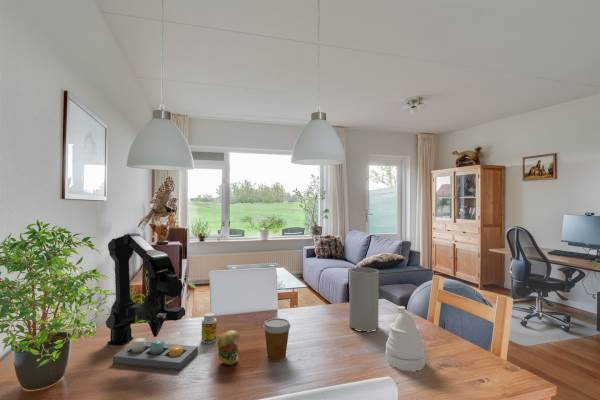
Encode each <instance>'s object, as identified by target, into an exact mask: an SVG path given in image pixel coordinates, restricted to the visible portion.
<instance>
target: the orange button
mask: <svg viewBox="0 0 600 400" xmlns="http://www.w3.org/2000/svg"><path fill="white" fill-rule="evenodd" d="M182 354H183V347H182V346H173V347H170V348H169V356H170V357H180V356H181V355H182Z"/></svg>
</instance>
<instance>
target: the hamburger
mask: <svg viewBox="0 0 600 400" xmlns="http://www.w3.org/2000/svg"><path fill="white" fill-rule="evenodd" d="M222 328H223V330H224V331H223V333H222V334H221V335H220V336H219V337H218V339H217V341H216V342H217V343H216V344H217V350H218V352H217V353H218V357H219V360H220V362H222V363H223V364H225V365H228V366H229V365H230V366H231V365H235V364H236V363H238V361H239V355H238V352H239V349H238V347H239V344H237V342H238V339H239V337H240V333H239V331H237V330H235V329H231V330H230V329H229V330H227V331H225V328H226V326H222ZM235 341H236V342H235Z"/></svg>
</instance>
